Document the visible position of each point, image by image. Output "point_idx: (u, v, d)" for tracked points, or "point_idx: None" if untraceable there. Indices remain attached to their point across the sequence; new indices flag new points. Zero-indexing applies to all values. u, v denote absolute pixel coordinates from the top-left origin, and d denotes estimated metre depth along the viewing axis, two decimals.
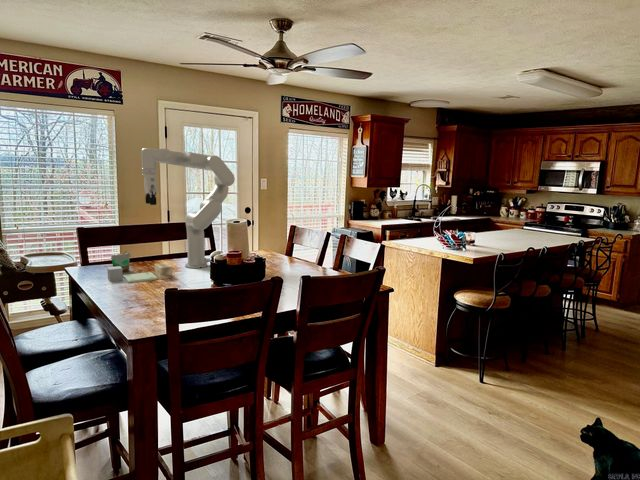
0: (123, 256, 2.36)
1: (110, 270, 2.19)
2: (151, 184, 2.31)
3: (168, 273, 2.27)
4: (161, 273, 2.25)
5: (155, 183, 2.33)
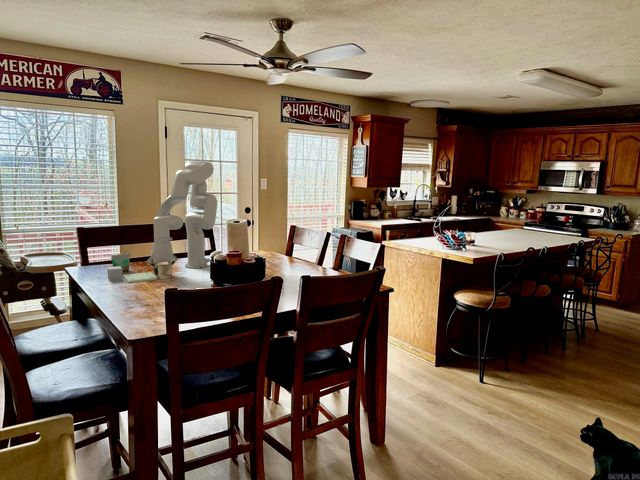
0: (123, 256, 2.36)
1: (110, 270, 2.19)
2: None
3: (168, 272, 2.27)
4: (161, 273, 2.25)
5: None
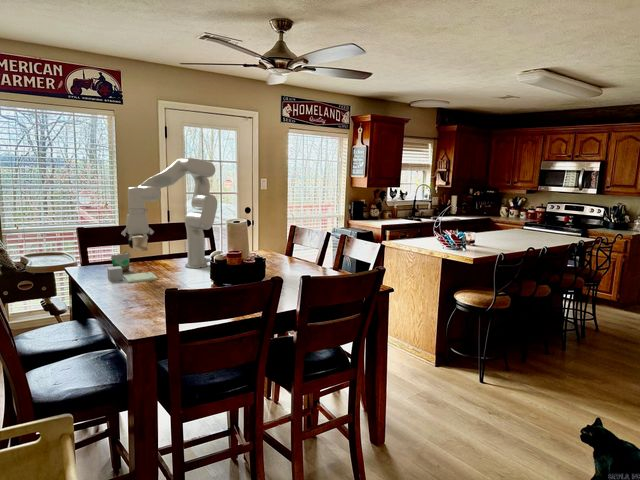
0: (123, 256, 2.36)
1: (110, 270, 2.19)
2: None
3: (143, 245, 2.19)
4: (135, 245, 2.17)
5: None
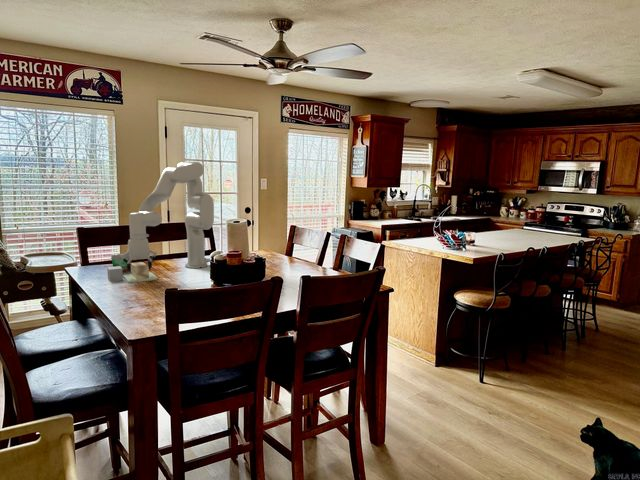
0: None
1: (110, 270, 2.19)
2: None
3: (144, 273, 2.21)
4: (137, 273, 2.19)
5: None
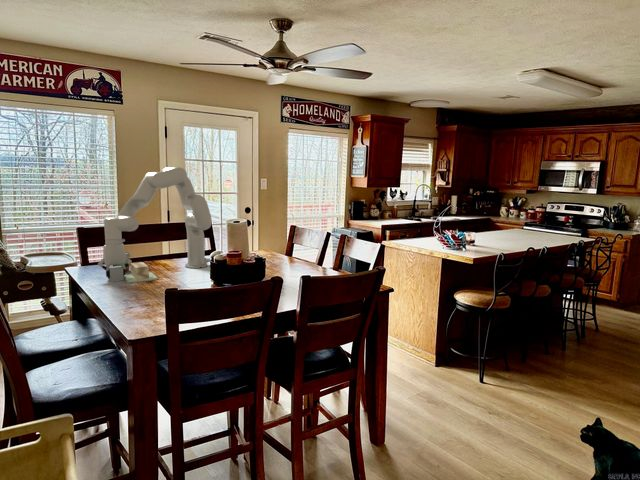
0: None
1: (111, 270, 2.19)
2: (125, 254, 2.24)
3: (144, 273, 2.21)
4: (137, 273, 2.19)
5: None
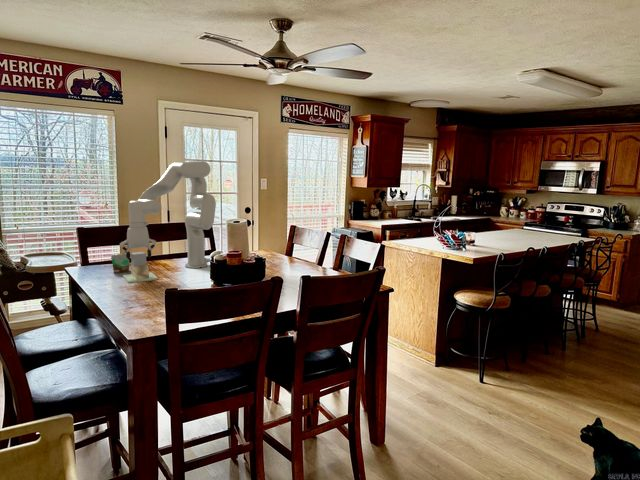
0: (123, 256, 2.36)
1: (134, 255, 2.20)
2: (148, 237, 2.25)
3: (144, 273, 2.21)
4: (137, 273, 2.19)
5: None
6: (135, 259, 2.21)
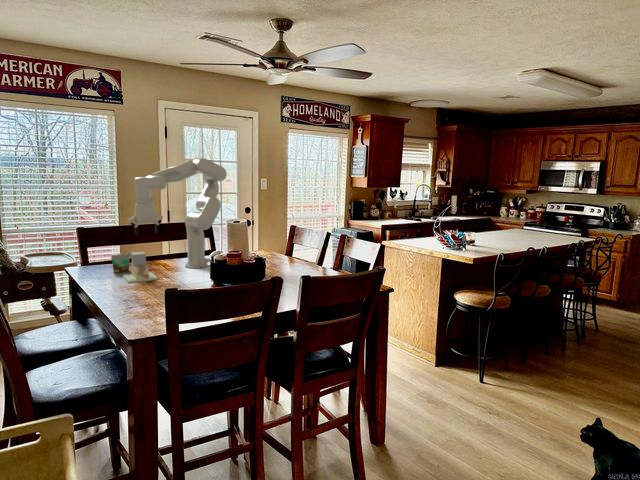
0: (123, 256, 2.36)
1: (134, 255, 2.21)
2: None
3: (144, 273, 2.21)
4: (137, 273, 2.19)
5: None
6: (135, 259, 2.21)
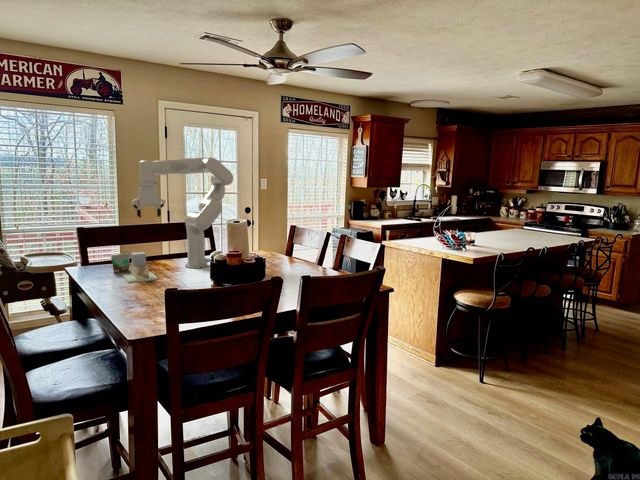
0: (123, 256, 2.36)
1: (134, 255, 2.21)
2: None
3: (144, 273, 2.21)
4: (137, 273, 2.19)
5: None
6: (135, 259, 2.21)
